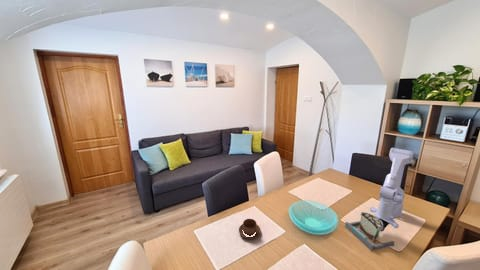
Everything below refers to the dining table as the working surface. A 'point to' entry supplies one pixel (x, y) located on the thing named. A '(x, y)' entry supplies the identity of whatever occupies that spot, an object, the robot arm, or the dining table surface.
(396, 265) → the dining table surface
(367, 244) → the grey piece
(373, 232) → the food container
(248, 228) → the cup and saucer
